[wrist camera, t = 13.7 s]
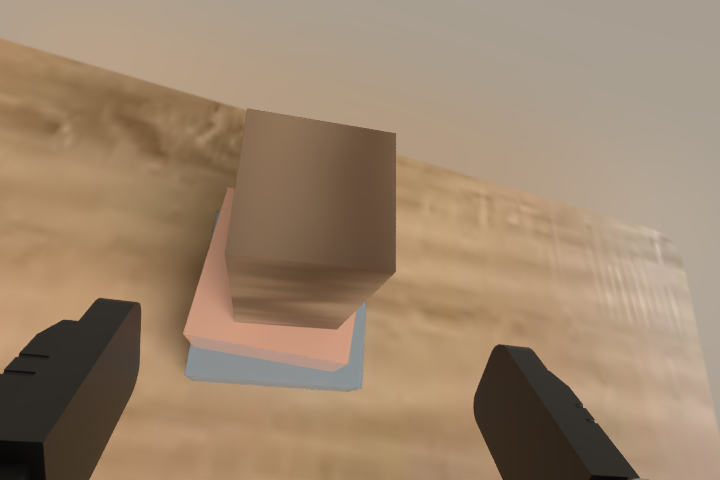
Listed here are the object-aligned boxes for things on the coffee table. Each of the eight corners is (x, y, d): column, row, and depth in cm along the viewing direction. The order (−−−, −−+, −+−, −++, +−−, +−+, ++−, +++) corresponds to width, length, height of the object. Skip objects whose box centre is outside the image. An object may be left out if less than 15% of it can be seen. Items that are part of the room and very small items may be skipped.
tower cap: (194, 346, 25) (182, 333, 21) (231, 219, 28) (227, 186, 24) (332, 371, 26) (348, 364, 22) (353, 247, 29) (370, 220, 25)
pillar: (235, 322, 21) (224, 253, 12) (248, 227, 23) (247, 108, 14) (336, 329, 22) (395, 271, 13) (341, 238, 24) (395, 133, 15)
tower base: (193, 381, 28) (184, 375, 24) (220, 237, 32) (216, 211, 28) (346, 392, 30) (362, 388, 26) (355, 254, 34) (369, 232, 30)
